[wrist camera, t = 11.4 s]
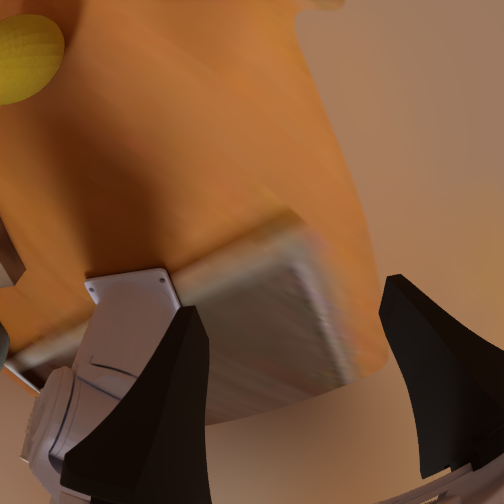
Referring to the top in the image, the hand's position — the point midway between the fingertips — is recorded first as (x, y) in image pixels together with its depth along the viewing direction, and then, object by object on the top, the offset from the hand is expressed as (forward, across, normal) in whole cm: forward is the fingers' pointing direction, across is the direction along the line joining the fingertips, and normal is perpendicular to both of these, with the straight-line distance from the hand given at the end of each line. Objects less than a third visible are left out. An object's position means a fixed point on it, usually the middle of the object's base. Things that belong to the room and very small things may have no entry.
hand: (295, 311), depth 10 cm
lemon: (+11, +12, -14) cm, 21 cm away
